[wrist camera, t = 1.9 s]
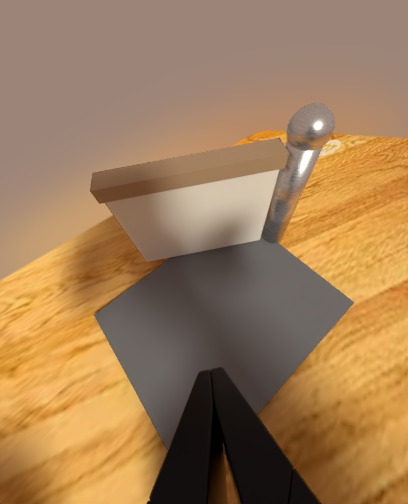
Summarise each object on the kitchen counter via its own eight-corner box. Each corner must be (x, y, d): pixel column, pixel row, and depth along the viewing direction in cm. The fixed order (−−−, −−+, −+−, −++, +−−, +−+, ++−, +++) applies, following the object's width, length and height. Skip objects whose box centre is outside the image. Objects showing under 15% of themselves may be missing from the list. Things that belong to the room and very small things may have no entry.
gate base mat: (351, 303, 20) (354, 302, 20) (191, 489, 15) (190, 491, 14) (234, 211, 27) (235, 209, 26) (95, 315, 21) (93, 314, 21)
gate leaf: (257, 229, 24) (279, 137, 15) (262, 241, 23) (289, 153, 14) (144, 251, 24) (92, 172, 14) (145, 264, 23) (90, 190, 14)
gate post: (278, 225, 25) (329, 90, 13) (287, 244, 24) (353, 113, 12) (256, 229, 25) (286, 98, 13) (263, 248, 24) (305, 122, 12)
